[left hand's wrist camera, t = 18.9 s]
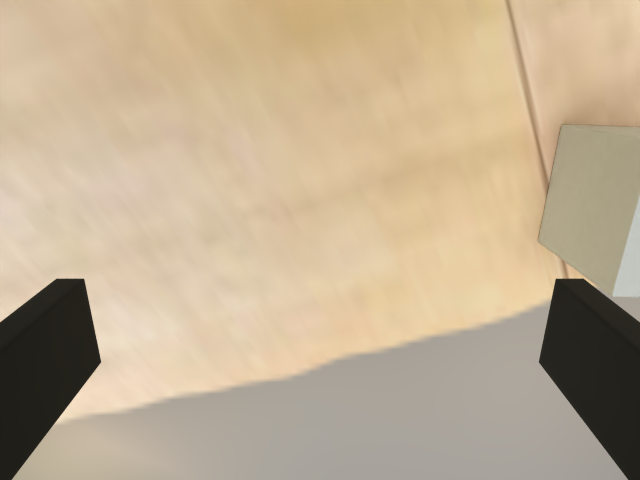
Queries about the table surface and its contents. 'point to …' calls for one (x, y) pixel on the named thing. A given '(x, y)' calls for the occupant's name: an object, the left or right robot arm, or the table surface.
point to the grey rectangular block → (596, 206)
